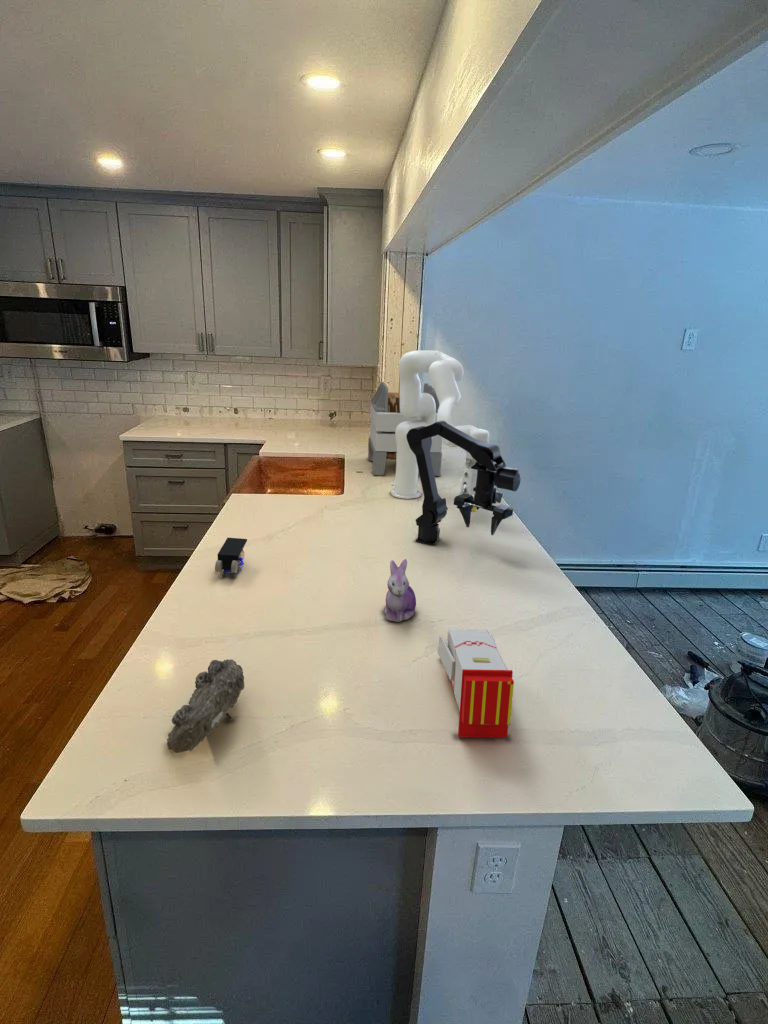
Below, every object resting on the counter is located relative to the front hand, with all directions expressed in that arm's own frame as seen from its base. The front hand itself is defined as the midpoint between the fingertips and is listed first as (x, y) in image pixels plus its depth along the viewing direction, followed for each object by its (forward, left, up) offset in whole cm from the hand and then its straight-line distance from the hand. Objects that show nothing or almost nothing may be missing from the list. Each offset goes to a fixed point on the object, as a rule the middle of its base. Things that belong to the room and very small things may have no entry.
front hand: (480, 530), depth 182 cm
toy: (+17, -70, -9) cm, 72 cm away
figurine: (-8, -47, -9) cm, 49 cm away
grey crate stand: (-63, +88, -9) cm, 108 cm away
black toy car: (-62, -47, -9) cm, 78 cm away
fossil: (-25, -100, -9) cm, 103 cm away
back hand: (-11, +31, -4) cm, 33 cm away
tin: (-11, +31, -5) cm, 33 cm away
